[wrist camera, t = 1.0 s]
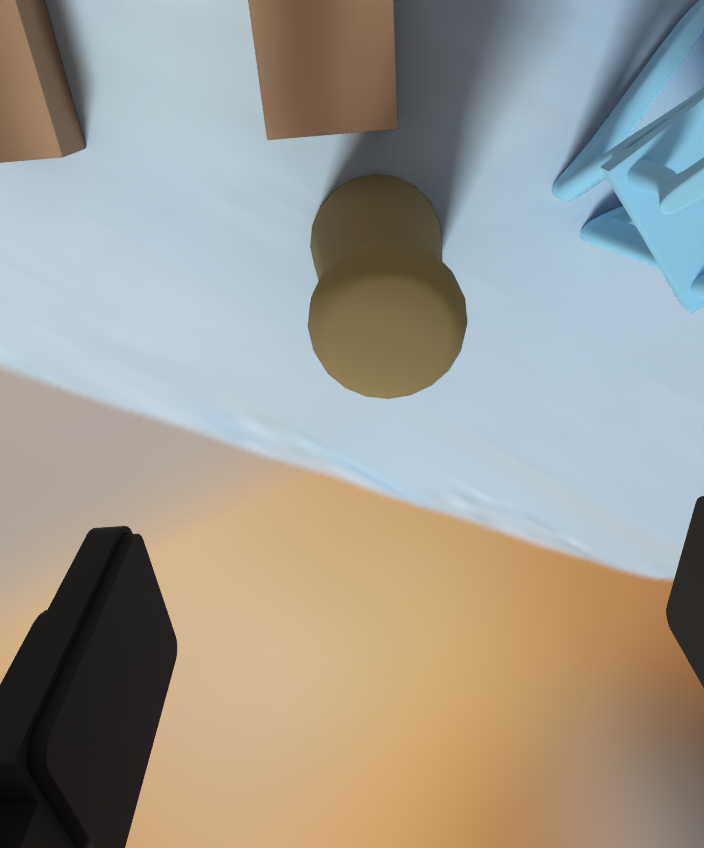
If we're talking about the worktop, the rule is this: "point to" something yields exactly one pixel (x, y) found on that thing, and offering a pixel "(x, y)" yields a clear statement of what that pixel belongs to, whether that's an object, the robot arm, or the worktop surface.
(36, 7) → the notched board
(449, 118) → the worktop surface
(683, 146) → the chair
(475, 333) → the worktop surface
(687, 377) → the worktop surface
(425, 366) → the cork
